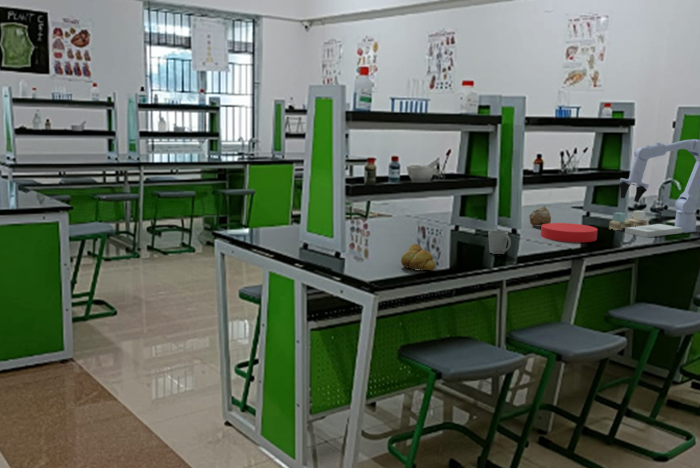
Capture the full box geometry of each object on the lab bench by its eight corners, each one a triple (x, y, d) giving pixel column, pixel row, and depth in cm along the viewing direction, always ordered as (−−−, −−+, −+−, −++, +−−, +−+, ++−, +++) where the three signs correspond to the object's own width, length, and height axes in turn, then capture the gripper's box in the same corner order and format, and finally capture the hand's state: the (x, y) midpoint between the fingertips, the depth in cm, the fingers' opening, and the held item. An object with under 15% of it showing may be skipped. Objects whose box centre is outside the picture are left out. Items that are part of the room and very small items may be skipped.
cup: (496, 250, 266) (497, 229, 264) (515, 255, 258) (517, 233, 256) (483, 252, 261) (484, 231, 260) (502, 257, 253) (504, 235, 252)
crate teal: (618, 220, 324) (618, 212, 324) (625, 221, 321) (625, 213, 320) (612, 220, 322) (613, 212, 322) (619, 222, 319) (620, 213, 318)
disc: (609, 230, 293) (569, 233, 282) (608, 240, 294) (569, 244, 283) (568, 221, 314) (530, 224, 303) (567, 231, 315) (529, 235, 304)
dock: (659, 228, 326) (659, 223, 326) (682, 232, 316) (682, 227, 316) (624, 232, 313) (625, 227, 312) (647, 237, 303) (648, 231, 302)
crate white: (637, 218, 332) (638, 210, 331) (644, 219, 329) (645, 211, 328) (632, 218, 330) (633, 211, 329) (639, 220, 327) (640, 212, 326)
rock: (551, 228, 320) (552, 208, 318) (529, 227, 322) (530, 207, 320) (549, 224, 332) (550, 205, 330) (527, 223, 334) (529, 204, 332)
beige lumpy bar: (637, 225, 334) (638, 218, 333) (646, 227, 330) (647, 219, 329) (609, 229, 323) (609, 221, 322) (617, 230, 319) (618, 222, 318)
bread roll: (441, 270, 230) (442, 248, 229) (421, 274, 224) (422, 251, 223) (415, 263, 240) (416, 242, 239) (395, 267, 234) (396, 245, 233)
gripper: (619, 168, 321) (611, 195, 323) (645, 174, 309) (637, 202, 311) (628, 170, 325) (620, 197, 327) (654, 176, 313) (646, 203, 315)
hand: (629, 199), depth 320 cm, fingers open, 7 cm apart
